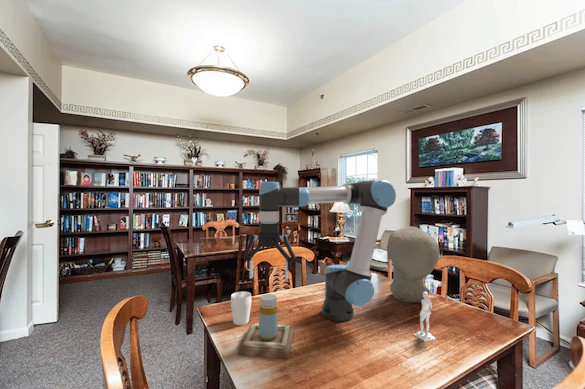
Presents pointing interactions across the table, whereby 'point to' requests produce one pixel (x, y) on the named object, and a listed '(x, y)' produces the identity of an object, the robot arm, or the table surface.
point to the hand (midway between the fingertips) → (268, 278)
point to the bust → (411, 262)
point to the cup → (241, 307)
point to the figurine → (425, 315)
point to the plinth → (267, 343)
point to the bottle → (268, 317)
